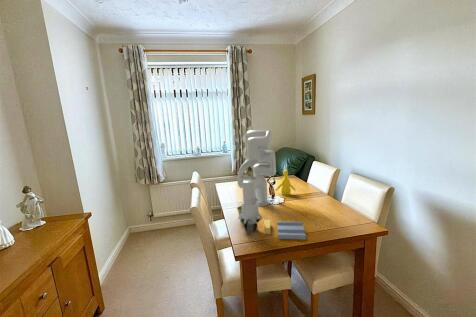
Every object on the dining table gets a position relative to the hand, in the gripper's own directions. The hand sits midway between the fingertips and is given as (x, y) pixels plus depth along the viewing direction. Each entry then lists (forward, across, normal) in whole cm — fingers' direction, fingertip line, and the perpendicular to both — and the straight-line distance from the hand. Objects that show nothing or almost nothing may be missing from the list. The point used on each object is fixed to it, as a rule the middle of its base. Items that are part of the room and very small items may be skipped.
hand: (250, 228), depth 140 cm
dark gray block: (+1, 0, 0) cm, 1 cm away
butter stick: (+1, -10, 0) cm, 10 cm away
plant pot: (+1, +5, -12) cm, 13 cm away
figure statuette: (+1, -25, -62) cm, 67 cm away
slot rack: (0, -24, +2) cm, 24 cm away
